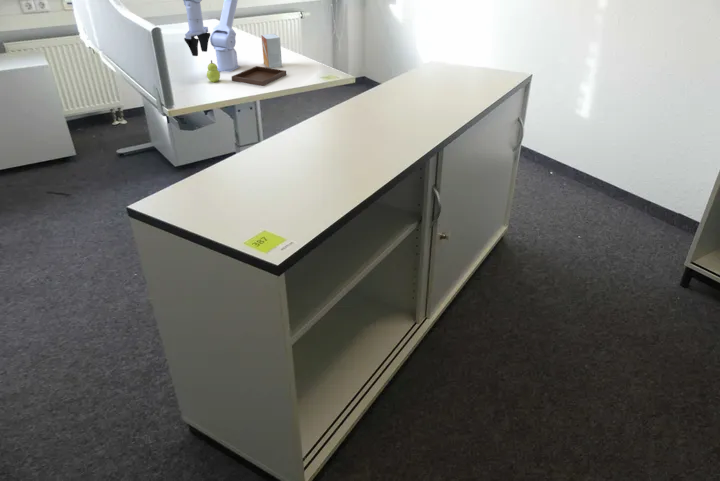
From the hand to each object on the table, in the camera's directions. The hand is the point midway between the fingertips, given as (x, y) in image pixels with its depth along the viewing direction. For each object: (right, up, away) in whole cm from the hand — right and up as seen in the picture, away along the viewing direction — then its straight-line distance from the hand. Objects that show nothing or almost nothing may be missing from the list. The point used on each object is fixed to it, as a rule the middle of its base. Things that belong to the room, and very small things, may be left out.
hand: (199, 53), depth 229 cm
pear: (+6, -11, +1) cm, 13 cm away
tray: (+24, -9, +6) cm, 26 cm away
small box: (+27, +2, +23) cm, 35 cm away
